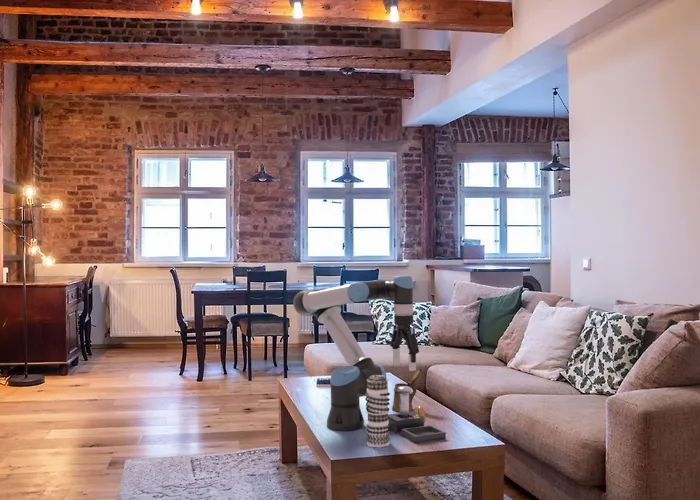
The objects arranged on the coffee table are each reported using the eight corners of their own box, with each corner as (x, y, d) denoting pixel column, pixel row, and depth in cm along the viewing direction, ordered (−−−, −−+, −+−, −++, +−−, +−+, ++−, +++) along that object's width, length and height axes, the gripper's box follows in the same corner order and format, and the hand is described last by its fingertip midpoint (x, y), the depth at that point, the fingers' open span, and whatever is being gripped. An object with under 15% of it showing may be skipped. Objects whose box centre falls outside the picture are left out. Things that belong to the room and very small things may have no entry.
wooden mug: (424, 411, 286) (423, 370, 286) (393, 412, 285) (393, 371, 284) (420, 406, 295) (419, 366, 295) (390, 407, 293) (390, 367, 293)
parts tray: (415, 443, 240) (415, 436, 240) (401, 435, 250) (401, 429, 250) (445, 439, 245) (445, 432, 245) (431, 431, 255) (431, 425, 255)
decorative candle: (389, 439, 245) (388, 373, 245) (391, 447, 236) (391, 378, 235) (365, 440, 245) (364, 373, 244) (366, 447, 235) (365, 378, 235)
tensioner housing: (396, 433, 253) (396, 413, 253) (385, 427, 262) (385, 407, 262) (430, 429, 258) (430, 409, 258) (418, 422, 267) (417, 403, 267)
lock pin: (401, 431, 256) (401, 389, 256) (395, 427, 261) (395, 386, 261) (413, 429, 258) (413, 388, 258) (407, 426, 263) (407, 385, 263)
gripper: (427, 316, 249) (428, 372, 249) (397, 311, 272) (398, 362, 272) (410, 317, 246) (410, 373, 246) (381, 312, 269) (382, 363, 269)
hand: (404, 367), depth 259 cm, fingers open, 13 cm apart
